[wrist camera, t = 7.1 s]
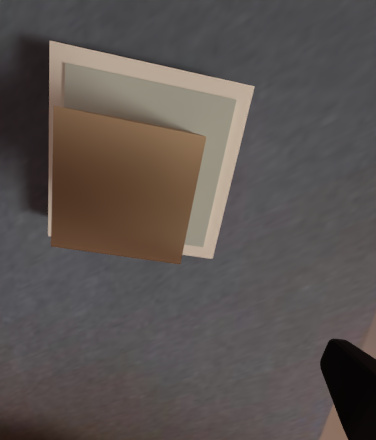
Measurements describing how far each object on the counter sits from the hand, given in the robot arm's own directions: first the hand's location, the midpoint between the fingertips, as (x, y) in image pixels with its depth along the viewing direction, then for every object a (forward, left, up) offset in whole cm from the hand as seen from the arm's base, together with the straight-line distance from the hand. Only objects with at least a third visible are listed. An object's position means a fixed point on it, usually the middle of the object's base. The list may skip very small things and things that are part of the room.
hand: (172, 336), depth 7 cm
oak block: (+3, +2, -9) cm, 10 cm away
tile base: (+3, +2, -12) cm, 12 cm away
